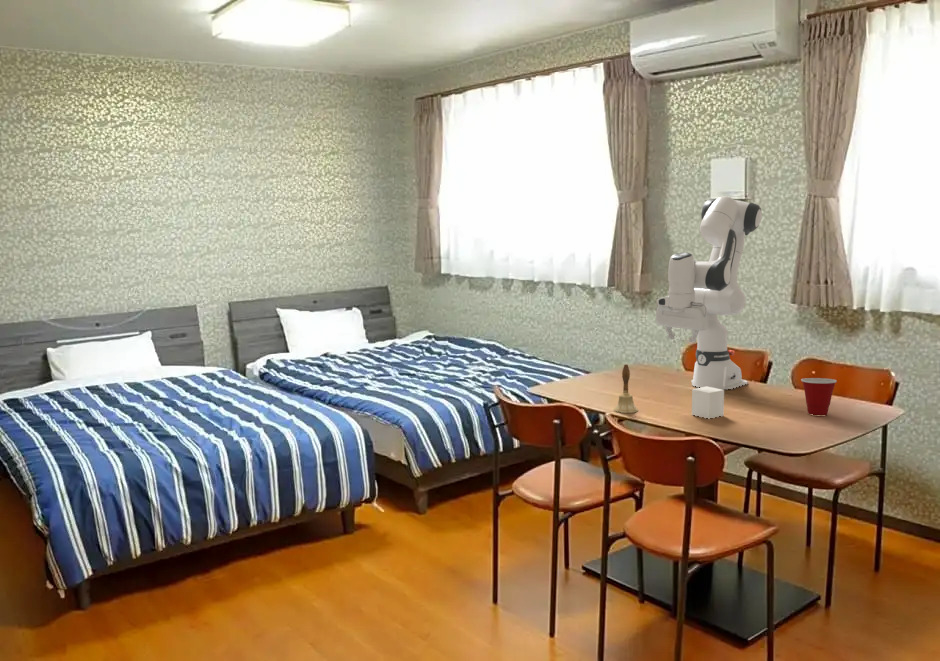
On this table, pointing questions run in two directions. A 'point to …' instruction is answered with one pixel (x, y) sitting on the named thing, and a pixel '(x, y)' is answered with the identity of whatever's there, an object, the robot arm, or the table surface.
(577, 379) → the table surface
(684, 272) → the robot arm
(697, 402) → the white cube block
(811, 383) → the plastic cup
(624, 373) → the hand bell
